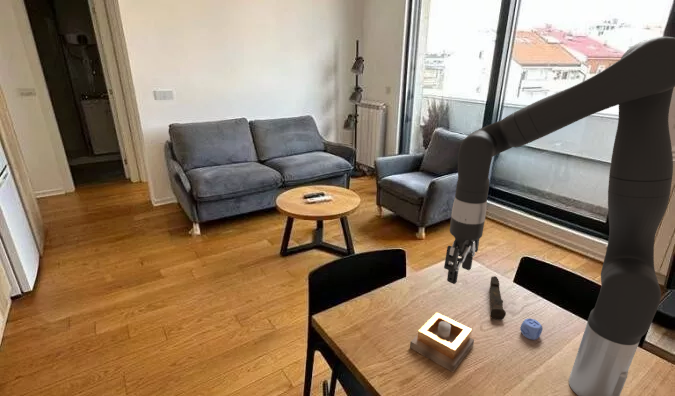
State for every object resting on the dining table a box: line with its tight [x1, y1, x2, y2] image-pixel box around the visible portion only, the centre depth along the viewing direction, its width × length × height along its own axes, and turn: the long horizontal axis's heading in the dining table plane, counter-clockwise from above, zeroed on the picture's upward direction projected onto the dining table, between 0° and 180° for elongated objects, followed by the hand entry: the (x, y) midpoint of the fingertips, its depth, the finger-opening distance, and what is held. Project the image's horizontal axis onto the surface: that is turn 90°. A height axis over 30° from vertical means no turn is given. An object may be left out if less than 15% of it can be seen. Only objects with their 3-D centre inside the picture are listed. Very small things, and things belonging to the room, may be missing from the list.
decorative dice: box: [519, 318, 543, 340], centre depth 101 cm, size 4×4×4 cm
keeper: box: [409, 321, 475, 373], centre depth 96 cm, size 12×12×7 cm
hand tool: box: [488, 276, 507, 321], centre depth 115 cm, size 19×4×5 cm, turn 160°
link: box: [417, 312, 472, 360], centre depth 96 cm, size 10×10×3 cm
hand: (459, 275), depth 93 cm, fingers open, 8 cm apart
